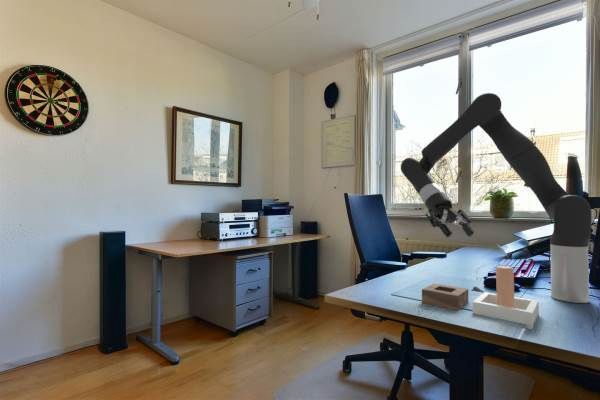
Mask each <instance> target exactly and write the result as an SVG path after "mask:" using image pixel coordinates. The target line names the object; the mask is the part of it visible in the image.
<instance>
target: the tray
mask: <svg viewBox="0 0 600 400" xmlns="http://www.w3.org/2000/svg"><path fill="white" fill-rule="evenodd" d="M539 303H540V302H539V300H535V299H528V298H523V297H517V296H514V306H515V308H512V307H507V306H501V305H497V293H492V292H486V291H484V293H481V294H480V295H479V296H478V297H476V298H475V299H474V300H473V301H472V314H476V315H479V316H485V317H488V318H490V317H491V318H494V319H500V320H504V321H509V322H514V323H518V324H523V328H524V329H529V330H534V327H535V326H536V323H537V320H538V319H539V317H540V304H539Z"/></svg>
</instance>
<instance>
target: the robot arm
mask: <svg viewBox="0 0 600 400" xmlns="http://www.w3.org/2000/svg"><path fill="white" fill-rule="evenodd" d="M501 109H502V100H501V98H500V96H498V95H497V94H496V93H493V92H485V93H482V94H480V95H478V96H476V98H474V100H473V101H472V102H471V103H470V105H469V106H468V107H467V109H465V111H464V112H463V113H462V114H461V115H459V117H458V118H457V119H456V120H455V121H454V122H453V123H452V124H451V125H450V126H448V127H447V128H446V129H445V130H443V132H441V133H440V134H438V136H436V137H435V138H434V139H432V140H431V141H430V142H429V143H428V144H427V145H426V146H425V147H424V148H423V149H422V150H421V156H422V158H421V159H420V160H418V159H417V158H414V157H407V158H404V159H403V160H402V161H401V163H400V172H401V173H402V174H403V176H404V177H405V178H406V179H407V180H408V181H409V182H410V184H411V185H412V186H413V188H414V190H415V191H416V193H417V194H418V196H419V197H420V200H421V202H422V204H424V206H425V207H426V209H427V212H426V213H425V216H426V218H427V220H428V221H429V223H430V224H431V226H432V227H433V228H436V227H437V228H438V229H439V230H441V232H442V233H443V234H444V235H445V237H446V238H450V237H451V236H452V234H453V232H452V230H451V229H450V227H449V226H448V223H451V224H454V225H455V226H459V227H460V228H462V230H463V232H464V233H465V234H466V235H467V237H472V236H473V235H474V233H475V232H474V231H475V230H474V229H473V228H472V227H471V225H470V224H471V223H472V222H473V221H472V219H471V218H470V217H469V216H468V215H467V213H466V212H465V211H464V210H463V209H462V208H459V209H458V210H456V209H454V208H453V206H452V205H453V202H452V201H451V200H450V197H448V196H447V194H446V193H445V192H444V191H443V189H442V188H441V187H440V186H439V185H438V184H437V183H436V181H434V179H433V178H432V177H431V176H430V175H429V173H430V171H432V170H433V168H434V166H435V165H436V163H438V162H439V161H440V160H441V159H442V158H444V156H446V155H447V154H448V153H450V152H451V150H453V149H454V147H455V146H457V145H458V144H459V143H460V142H461V141H462V140H463V139H464V138H465V137H466V136H467V135H469V133H471V132H472V131H473V130H474V129H476V128H477V127H480V128H481V130H482V131H484V133H486V134H487V135H488V137H489V138H490V139H491V141H492V142H493V144H494V145H495V147H496V148H497V149H498V151H499V152H500V154H501V155H502V157H503V158H504V159H505V161H506V162H507V163H508V164H509V166H510V167H511V168H512V169H513V171H514V172H515V173H516V174H517V175H518V176H519V178H520V179H521V180H522V181H523V182H524V183H525V184H526V186H527V187H529V189H530V190H531V191H532V192H533V193H534V195H535V196H536V198H537V199H538V201H539V202H540V204H541V206H542V207H543V209H544V211H545V212H546V214H547V215H548V217H549V218H550V219H552V220H553V231H552V234H551V235H550V239H549V241H550V243H549V245H550V247H549V249H550V250H549V251H550V297H551V298H553V299H556V300H559V301H563V302H568V303H573V304H574V303H576V304H587V303H589V302H590V285H589V284H590V281H589V280H590V278H589V277H590V276H589V274H590V273H589V271H590V270H589V267H590V266H589V240H590V239H591V235H592V234H591V233H592V208H591V205H590V203H589V201H587V199H585V198H584V197H583V196H580V195H577V194H569V193H568V192H567V191H566V190H565V189H564V188H563V186H561V185H560V184H559V182H558V181H557V180H556V178H555V177H554V174H553V172H552V169H551V167H550V165H549V163H548V160H547V158H546V157H545V155H544V154H543V153H542V151H541V150H540V149H539V147H537V145H536V144H535V143H534V142H533V141H532V140H531V139H530V138H528V137H527V136H526V135H525V134H523V133H522V132H520V131H519V130H518V129H517V128H515V127H514V126H513V125H512V124H511V123H510V122H509V121H508V119H507V118H506V117H505V115H504V113H503V112H502V110H501ZM457 218H458V219H457ZM456 219H457V220H456Z"/></svg>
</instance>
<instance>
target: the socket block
mask: <svg viewBox="0 0 600 400" xmlns="http://www.w3.org/2000/svg"><path fill="white" fill-rule="evenodd" d="M421 304H425V305H429V306H434V307H438V308H443V309H444V308H445V309H449V310H453V311H458V312H459V311H460V310H461V309H462V308H463V307H465V306H466V305H467V304H469V288H467V287H466V288H465V287H458V286H452V285H446V284H441V283H434V282H433V283H432V284H430V285H427V286H426V287H424V288H422V289H421Z"/></svg>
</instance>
